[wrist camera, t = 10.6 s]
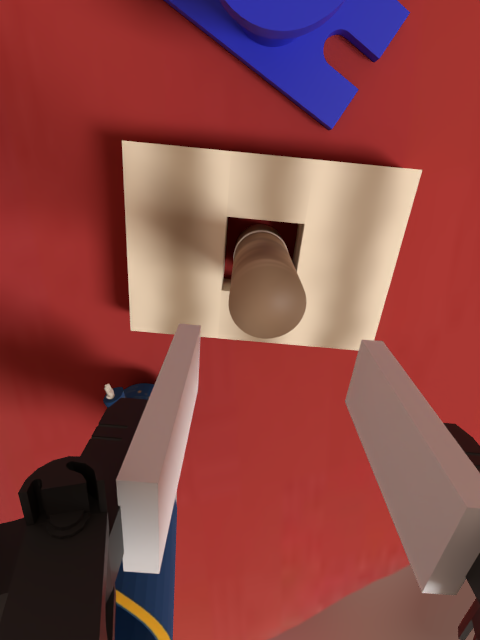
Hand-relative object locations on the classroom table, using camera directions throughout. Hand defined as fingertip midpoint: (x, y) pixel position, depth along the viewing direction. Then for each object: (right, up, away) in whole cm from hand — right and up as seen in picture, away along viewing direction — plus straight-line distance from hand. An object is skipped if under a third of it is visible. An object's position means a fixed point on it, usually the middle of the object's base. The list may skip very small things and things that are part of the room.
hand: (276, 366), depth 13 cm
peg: (0, +8, +16) cm, 18 cm away
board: (0, +8, +16) cm, 18 cm away
